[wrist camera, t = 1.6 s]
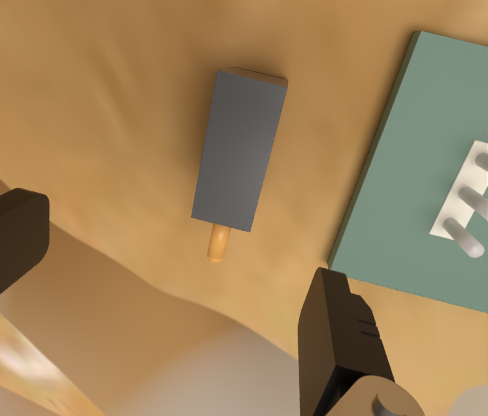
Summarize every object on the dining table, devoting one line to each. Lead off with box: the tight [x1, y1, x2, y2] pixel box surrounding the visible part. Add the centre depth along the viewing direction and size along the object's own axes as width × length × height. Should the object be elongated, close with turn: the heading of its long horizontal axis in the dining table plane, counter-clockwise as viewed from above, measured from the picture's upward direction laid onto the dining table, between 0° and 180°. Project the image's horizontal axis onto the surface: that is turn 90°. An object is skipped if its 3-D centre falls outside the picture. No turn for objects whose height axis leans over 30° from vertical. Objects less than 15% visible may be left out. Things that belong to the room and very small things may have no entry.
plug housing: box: [191, 67, 288, 263], centre depth 24 cm, size 12×4×7 cm, turn 167°
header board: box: [327, 31, 488, 313], centre depth 24 cm, size 18×14×6 cm
